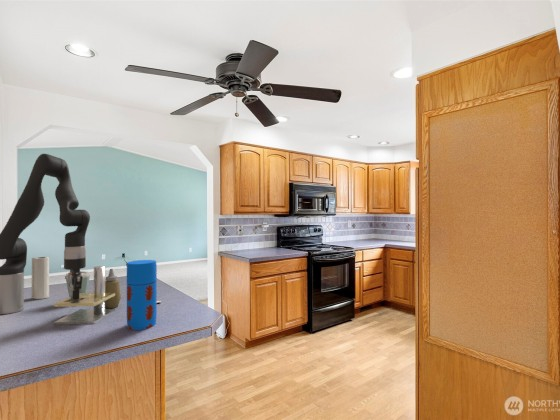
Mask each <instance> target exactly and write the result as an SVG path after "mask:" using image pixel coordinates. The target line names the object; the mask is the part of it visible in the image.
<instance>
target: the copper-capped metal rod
mask: <svg viewBox="0 0 560 420" xmlns="http://www.w3.org/2000/svg"><path fill="white" fill-rule="evenodd" d="M69 272H70V271H69ZM70 274H72V272H70ZM73 283H74V282H73ZM77 286H78V285H76V287H77ZM78 301H79V299H75V300H73V290H72V285H71V302H78ZM70 307H71V308H76V307H77V306H70Z"/></svg>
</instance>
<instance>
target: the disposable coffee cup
mask: <svg viewBox="0 0 560 420" xmlns="http://www.w3.org/2000/svg"><path fill="white" fill-rule="evenodd" d="M68 273H70V271H69V272H66V274H65V276H64V279H65V282H66V286H67V291H68V298H69V297H71V289H70V287H69V280H68ZM80 273H82V277H83V278H82V285H81V289H80V290H79V293H89V292H88V291H89V283H90V277H91V274H90V272H88V271H84V270H80Z"/></svg>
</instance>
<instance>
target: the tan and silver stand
mask: <svg viewBox="0 0 560 420" xmlns="http://www.w3.org/2000/svg"><path fill="white" fill-rule="evenodd" d="M105 281H106V266H105V265H98V266H94V267H93V292H87V293H79V301H78V302H71V297H69V296H68V297H67V298H64V299H62V300H59V301H57V302H55V303H53V307H56V308H57V307H60V308H61V307H64V308H65V307H71V306H76V307H93V308H91V309H78V310H75V311H74V312H71V313H69V314H67V315H66V316H64V317H62V318H59V319H57V320H55V321H54V322H53V325H91V324H92V325H93V324H96V323H97V322H99V321H101V320H102V319H104V318H106V317H107V316H110V315H111V314H112V313H114V312H116V309H115V308H105V300H107V299H109V298H111V297H113V296H115V293H105Z"/></svg>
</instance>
